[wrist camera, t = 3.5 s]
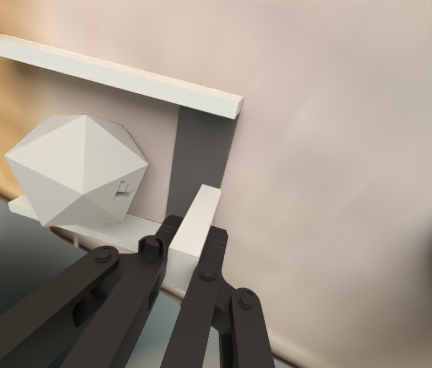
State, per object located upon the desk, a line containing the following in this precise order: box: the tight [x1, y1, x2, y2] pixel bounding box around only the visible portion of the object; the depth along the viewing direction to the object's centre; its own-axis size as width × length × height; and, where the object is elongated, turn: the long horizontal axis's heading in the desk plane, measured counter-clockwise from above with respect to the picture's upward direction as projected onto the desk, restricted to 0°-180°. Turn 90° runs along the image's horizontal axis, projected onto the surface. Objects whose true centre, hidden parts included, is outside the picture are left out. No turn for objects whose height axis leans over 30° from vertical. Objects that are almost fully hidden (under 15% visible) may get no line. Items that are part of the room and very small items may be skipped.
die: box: [4, 115, 149, 226], centre depth 17 cm, size 8×9×10 cm
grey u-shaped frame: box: [0, 34, 244, 253], centre depth 19 cm, size 19×15×4 cm
